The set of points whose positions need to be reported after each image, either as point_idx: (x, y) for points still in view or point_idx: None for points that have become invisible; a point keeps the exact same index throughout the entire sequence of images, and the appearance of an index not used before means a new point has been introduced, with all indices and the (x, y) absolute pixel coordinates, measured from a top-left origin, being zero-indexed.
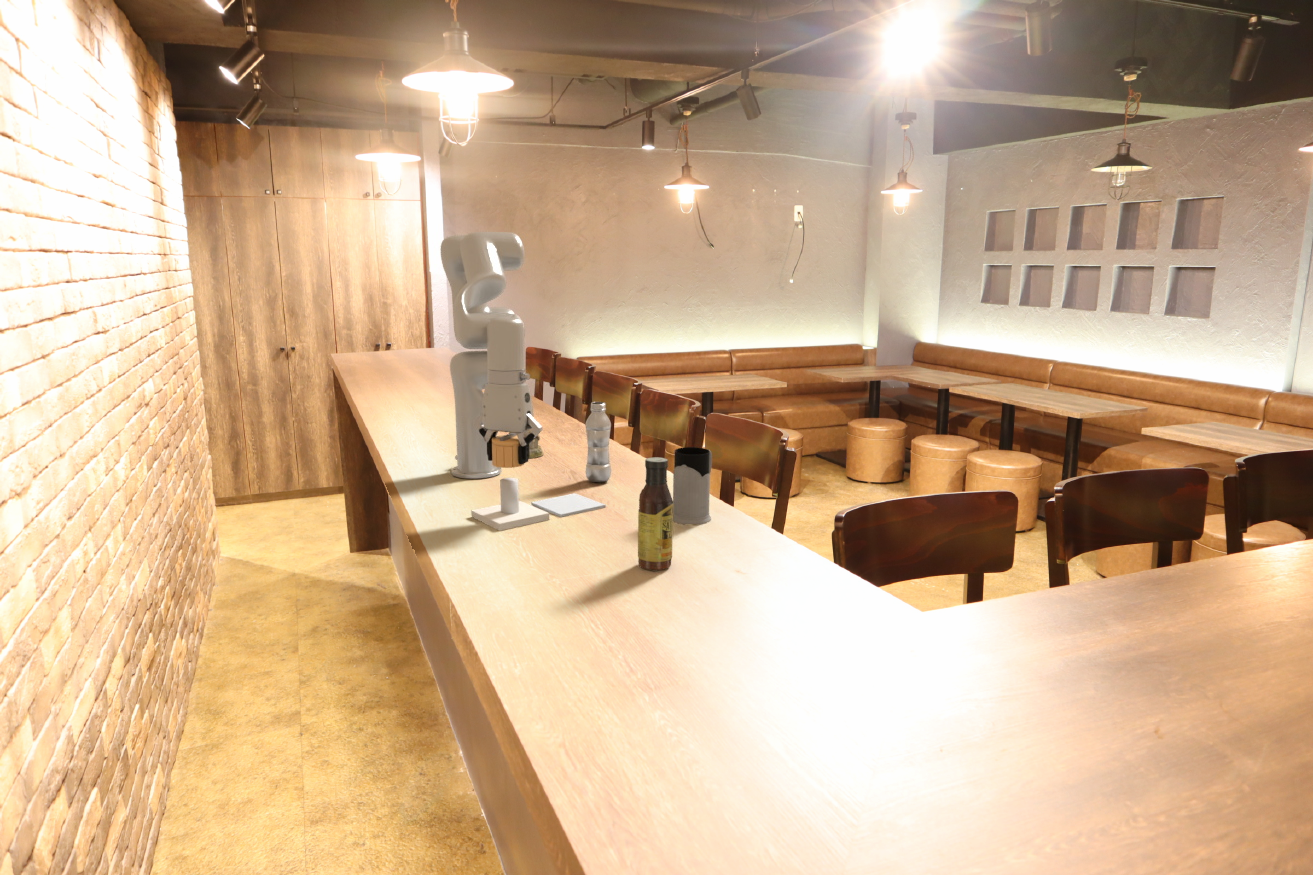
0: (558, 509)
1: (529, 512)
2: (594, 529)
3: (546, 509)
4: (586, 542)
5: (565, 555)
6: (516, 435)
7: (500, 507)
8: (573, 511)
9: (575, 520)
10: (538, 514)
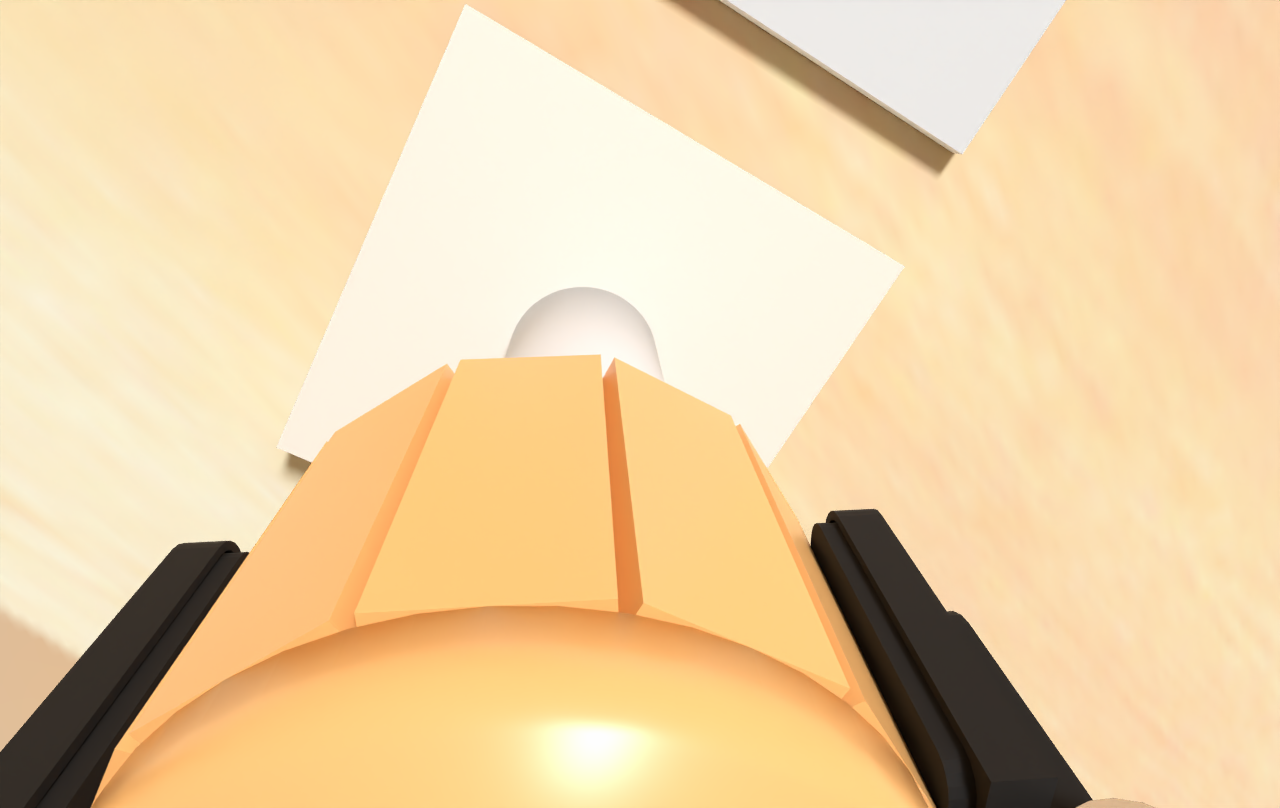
0: (892, 16)
1: (742, 315)
2: (1267, 323)
3: (771, 32)
4: (1248, 554)
5: (1168, 742)
6: (513, 738)
7: (440, 289)
8: (1044, 19)
9: (1088, 182)
10: (834, 333)
